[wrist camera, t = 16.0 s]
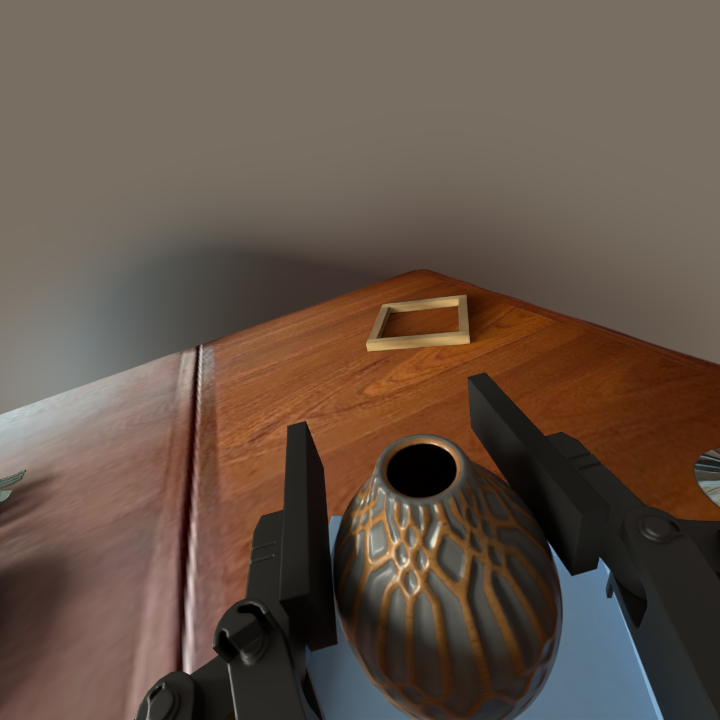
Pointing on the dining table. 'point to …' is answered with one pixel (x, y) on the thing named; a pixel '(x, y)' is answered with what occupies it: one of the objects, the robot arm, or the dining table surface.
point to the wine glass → (709, 474)
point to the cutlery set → (4, 494)
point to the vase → (446, 586)
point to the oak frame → (420, 340)
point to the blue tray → (565, 684)
